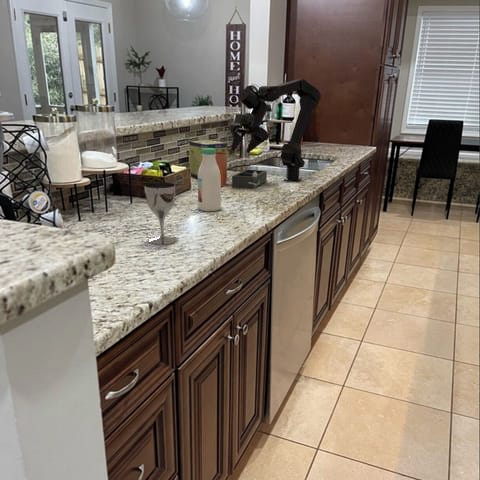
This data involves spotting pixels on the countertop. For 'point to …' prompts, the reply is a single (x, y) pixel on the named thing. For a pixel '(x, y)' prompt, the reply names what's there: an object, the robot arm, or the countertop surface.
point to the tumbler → (222, 166)
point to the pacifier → (254, 176)
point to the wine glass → (160, 206)
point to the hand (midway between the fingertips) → (239, 151)
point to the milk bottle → (209, 182)
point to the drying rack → (248, 178)
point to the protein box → (196, 153)
